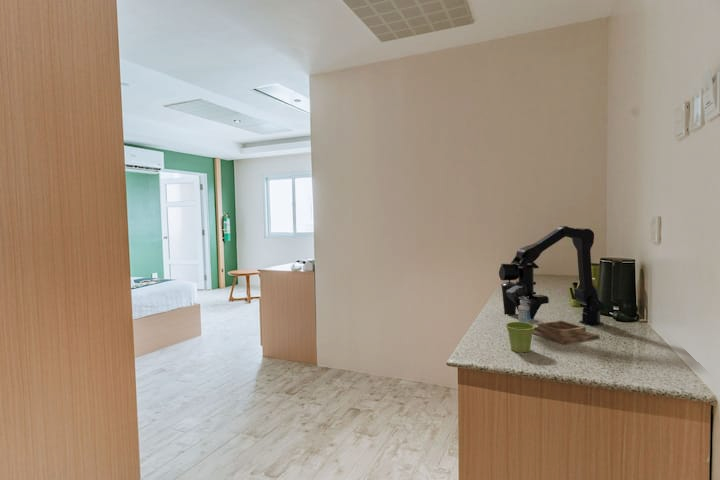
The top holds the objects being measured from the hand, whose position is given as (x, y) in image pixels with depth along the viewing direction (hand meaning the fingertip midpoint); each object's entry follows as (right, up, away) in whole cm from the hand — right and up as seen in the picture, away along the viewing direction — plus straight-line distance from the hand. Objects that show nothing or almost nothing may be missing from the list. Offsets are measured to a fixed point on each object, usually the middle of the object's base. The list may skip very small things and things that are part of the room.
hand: (526, 317), depth 170 cm
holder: (+9, -5, -11) cm, 15 cm away
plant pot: (-13, -7, -27) cm, 31 cm away
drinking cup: (+1, -3, +22) cm, 22 cm away
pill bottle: (0, -4, 0) cm, 4 cm away
